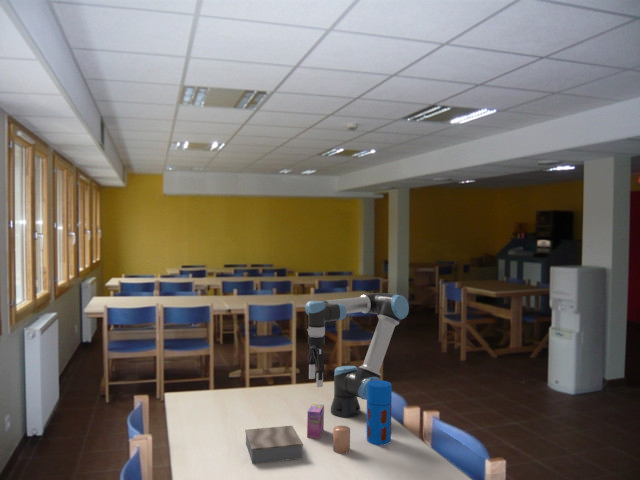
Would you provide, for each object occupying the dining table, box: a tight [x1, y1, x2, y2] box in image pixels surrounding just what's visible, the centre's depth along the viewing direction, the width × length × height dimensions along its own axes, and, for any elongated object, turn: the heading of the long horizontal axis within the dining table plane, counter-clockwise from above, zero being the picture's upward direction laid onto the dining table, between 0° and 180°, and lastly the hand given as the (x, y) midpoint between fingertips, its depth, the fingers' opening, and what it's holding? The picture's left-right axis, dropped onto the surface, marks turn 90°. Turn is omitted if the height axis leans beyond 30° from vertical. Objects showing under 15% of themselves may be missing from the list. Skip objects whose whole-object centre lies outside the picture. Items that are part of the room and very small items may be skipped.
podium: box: [244, 425, 304, 464], centre depth 217 cm, size 21×21×6 cm
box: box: [306, 403, 325, 439], centre depth 237 cm, size 10×6×12 cm, turn 168°
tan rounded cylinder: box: [332, 425, 351, 455], centre depth 219 cm, size 7×7×9 cm
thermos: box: [365, 379, 393, 446], centre depth 230 cm, size 11×11×25 cm
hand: (315, 382), depth 236 cm, fingers open, 13 cm apart
